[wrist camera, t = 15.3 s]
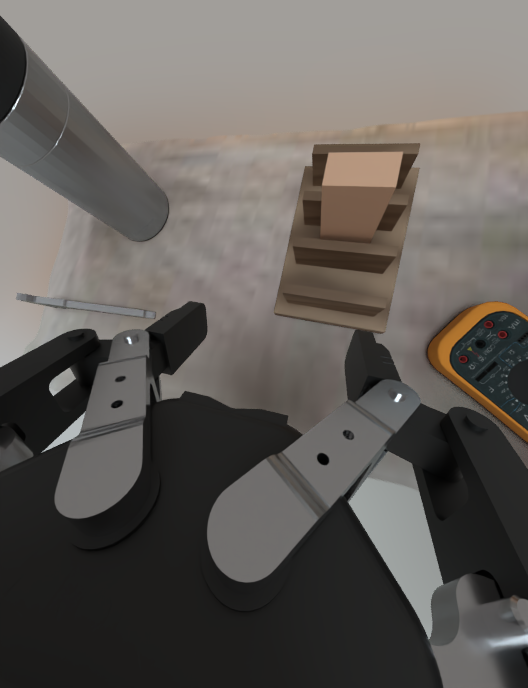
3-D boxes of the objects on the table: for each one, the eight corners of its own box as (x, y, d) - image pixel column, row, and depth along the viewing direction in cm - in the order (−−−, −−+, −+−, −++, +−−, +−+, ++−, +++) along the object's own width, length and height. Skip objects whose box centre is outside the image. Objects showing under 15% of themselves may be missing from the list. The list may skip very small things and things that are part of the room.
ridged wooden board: (381, 333, 26) (399, 326, 20) (275, 314, 29) (265, 304, 24) (414, 178, 26) (441, 127, 21) (305, 175, 29) (303, 131, 24)
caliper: (57, 308, 39) (9, 299, 33) (58, 302, 39) (10, 292, 33) (156, 319, 34) (121, 310, 28) (157, 312, 34) (122, 302, 28)
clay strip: (363, 257, 26) (396, 187, 15) (319, 253, 27) (321, 185, 16) (367, 236, 26) (403, 151, 15) (323, 233, 27) (328, 152, 16)
